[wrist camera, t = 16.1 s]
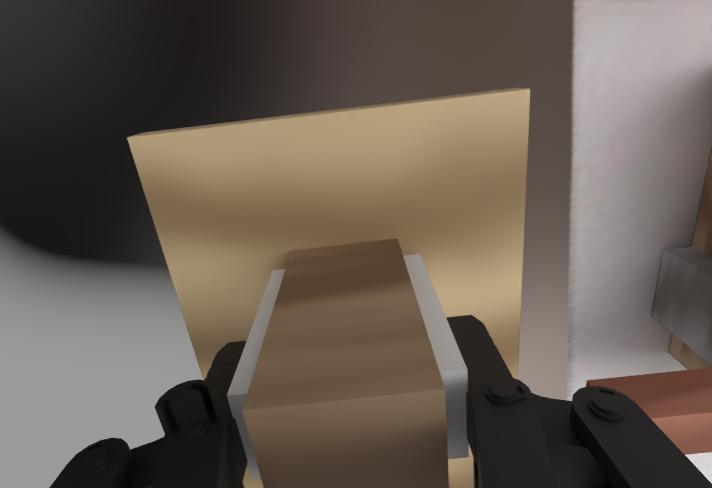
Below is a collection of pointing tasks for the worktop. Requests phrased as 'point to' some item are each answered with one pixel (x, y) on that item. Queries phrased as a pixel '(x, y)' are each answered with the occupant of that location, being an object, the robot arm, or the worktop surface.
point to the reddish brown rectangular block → (673, 404)
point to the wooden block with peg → (346, 270)
